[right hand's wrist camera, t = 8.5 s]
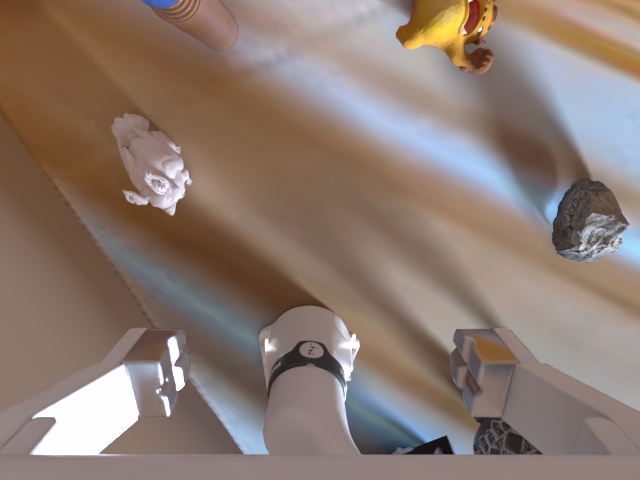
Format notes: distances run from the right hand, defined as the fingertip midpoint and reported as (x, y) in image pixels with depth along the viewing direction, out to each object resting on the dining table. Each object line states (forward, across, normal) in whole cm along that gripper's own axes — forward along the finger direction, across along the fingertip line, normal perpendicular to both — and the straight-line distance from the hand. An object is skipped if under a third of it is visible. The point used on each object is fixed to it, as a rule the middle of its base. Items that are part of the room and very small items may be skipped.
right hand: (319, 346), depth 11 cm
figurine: (+46, -24, -1) cm, 52 cm away
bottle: (+47, -14, +17) cm, 52 cm away
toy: (+47, +17, +17) cm, 53 cm away
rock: (+46, +42, -11) cm, 64 cm away
